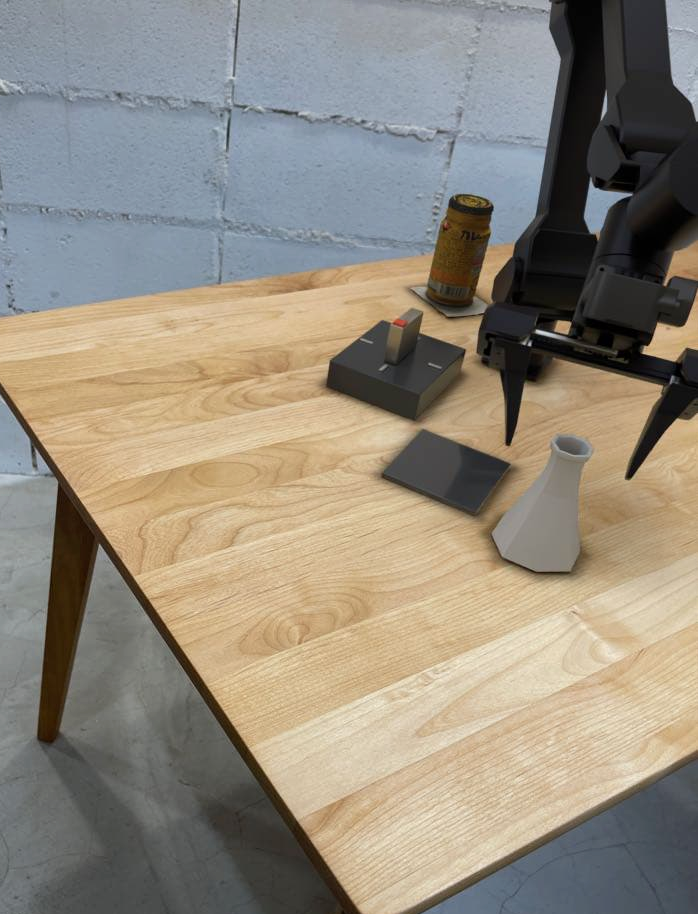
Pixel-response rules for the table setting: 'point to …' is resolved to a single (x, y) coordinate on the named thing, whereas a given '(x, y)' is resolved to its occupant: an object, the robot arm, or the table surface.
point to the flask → (547, 512)
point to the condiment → (459, 257)
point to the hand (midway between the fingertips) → (566, 461)
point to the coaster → (447, 471)
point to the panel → (395, 372)
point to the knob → (403, 336)
